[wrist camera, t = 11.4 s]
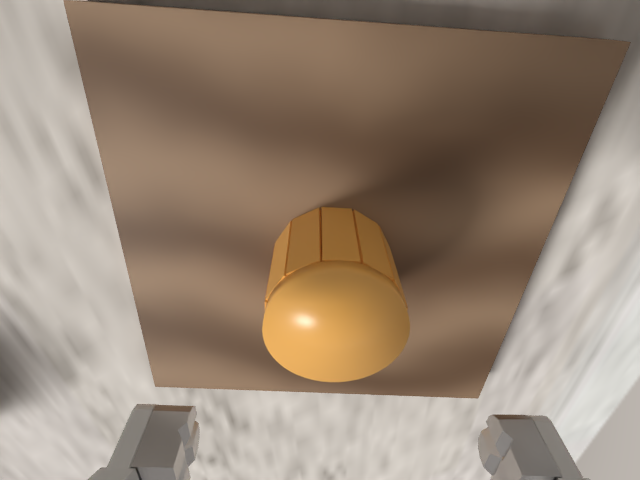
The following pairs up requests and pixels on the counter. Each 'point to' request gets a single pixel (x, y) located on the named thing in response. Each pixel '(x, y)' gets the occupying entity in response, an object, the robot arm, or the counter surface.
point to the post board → (331, 173)
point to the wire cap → (334, 298)
